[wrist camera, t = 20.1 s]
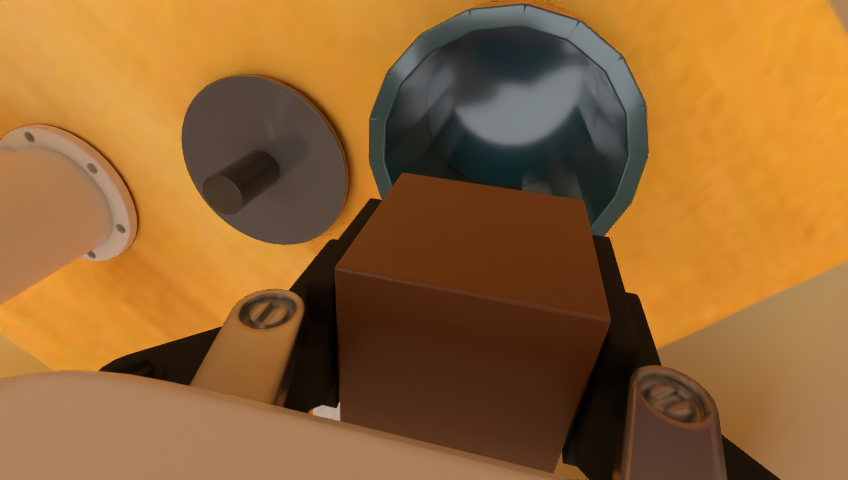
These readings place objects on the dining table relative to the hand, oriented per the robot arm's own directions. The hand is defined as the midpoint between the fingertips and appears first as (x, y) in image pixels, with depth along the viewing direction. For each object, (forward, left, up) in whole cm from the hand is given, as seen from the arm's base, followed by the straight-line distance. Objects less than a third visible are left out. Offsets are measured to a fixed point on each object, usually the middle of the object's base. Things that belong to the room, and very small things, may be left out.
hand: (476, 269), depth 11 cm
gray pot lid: (-14, -12, -19) cm, 26 cm away
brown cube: (0, 0, 0) cm, 0 cm away
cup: (0, 0, -19) cm, 19 cm away
